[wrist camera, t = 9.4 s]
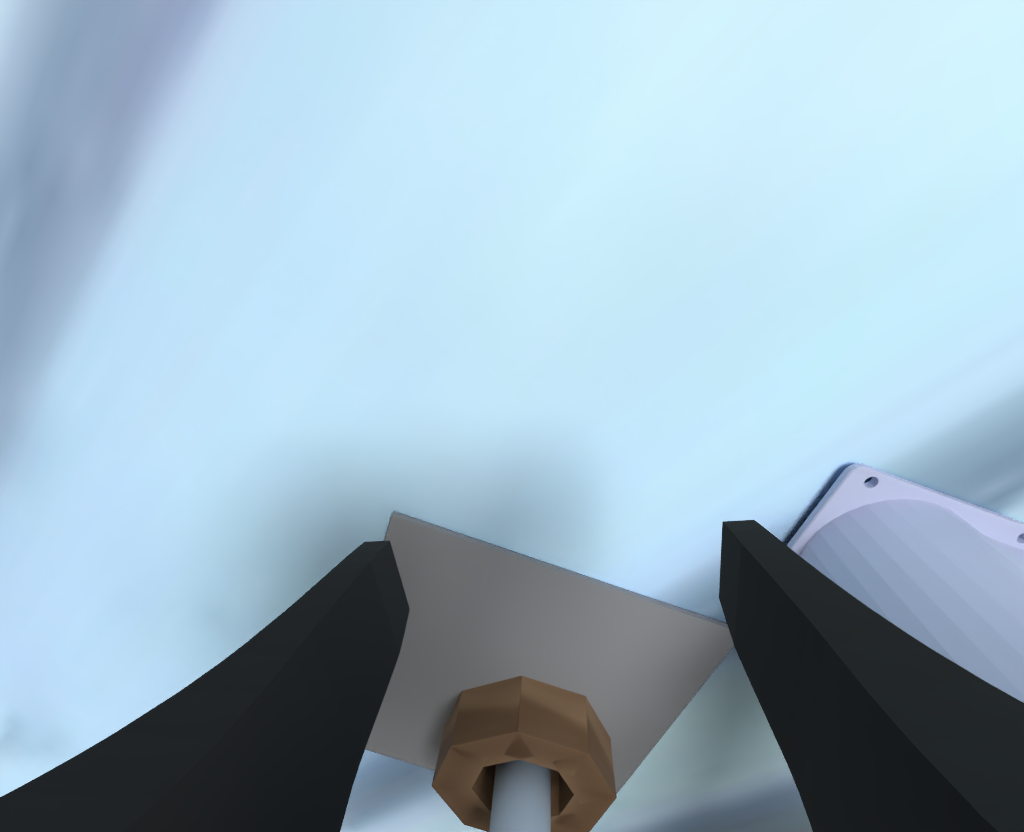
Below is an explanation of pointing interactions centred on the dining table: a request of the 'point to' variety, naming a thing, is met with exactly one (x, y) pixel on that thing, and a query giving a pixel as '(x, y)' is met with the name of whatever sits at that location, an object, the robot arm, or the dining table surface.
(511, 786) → the dowel
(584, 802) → the faceted ring
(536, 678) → the mat
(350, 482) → the dining table surface
